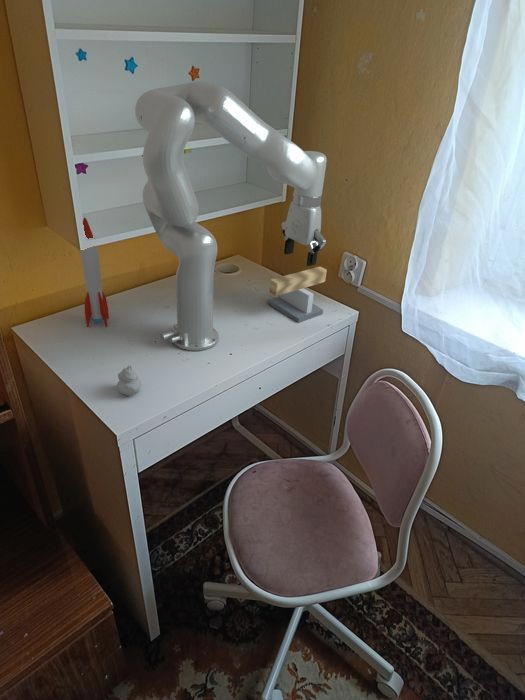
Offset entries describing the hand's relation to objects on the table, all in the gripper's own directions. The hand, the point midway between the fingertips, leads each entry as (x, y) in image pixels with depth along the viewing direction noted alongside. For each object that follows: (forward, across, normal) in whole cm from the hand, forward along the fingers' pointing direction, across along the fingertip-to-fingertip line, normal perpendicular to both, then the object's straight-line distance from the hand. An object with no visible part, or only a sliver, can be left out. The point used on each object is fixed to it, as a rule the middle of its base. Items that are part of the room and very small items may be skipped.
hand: (299, 259), depth 145 cm
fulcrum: (+16, 0, +1) cm, 17 cm away
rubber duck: (+18, +9, -59) cm, 63 cm away
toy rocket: (+18, -24, -52) cm, 60 cm away
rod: (+9, 0, +1) cm, 9 cm away
